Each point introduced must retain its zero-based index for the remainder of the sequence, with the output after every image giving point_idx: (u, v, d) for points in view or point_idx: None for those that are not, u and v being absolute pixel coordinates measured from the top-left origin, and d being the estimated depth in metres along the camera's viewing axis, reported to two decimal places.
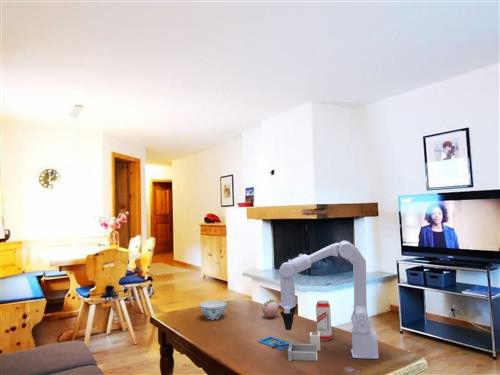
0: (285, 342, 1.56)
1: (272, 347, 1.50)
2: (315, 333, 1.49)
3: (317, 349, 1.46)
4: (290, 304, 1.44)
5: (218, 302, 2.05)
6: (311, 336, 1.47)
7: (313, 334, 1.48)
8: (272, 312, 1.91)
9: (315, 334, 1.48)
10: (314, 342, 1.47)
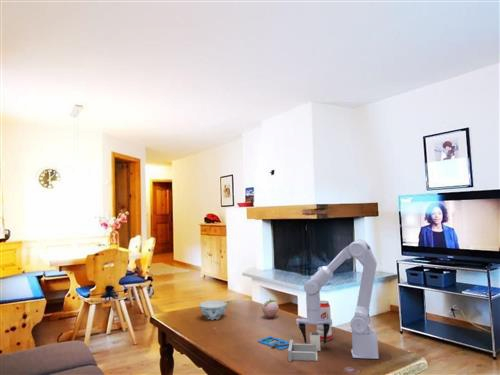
0: (285, 342, 1.56)
1: (272, 347, 1.50)
2: (315, 333, 1.49)
3: (317, 349, 1.46)
4: (307, 319, 1.49)
5: (218, 302, 2.05)
6: (311, 336, 1.47)
7: (313, 334, 1.48)
8: (272, 312, 1.91)
9: (315, 334, 1.48)
10: (314, 342, 1.47)
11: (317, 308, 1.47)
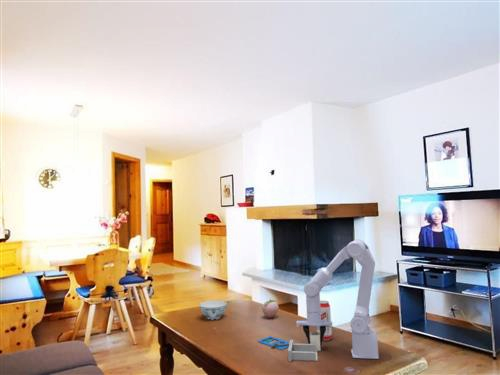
0: (285, 342, 1.56)
1: (272, 347, 1.50)
2: (315, 333, 1.49)
3: (317, 349, 1.46)
4: (307, 321, 1.49)
5: (218, 302, 2.05)
6: (311, 336, 1.47)
7: (313, 334, 1.48)
8: (272, 312, 1.91)
9: (315, 334, 1.48)
10: (314, 342, 1.47)
11: (317, 310, 1.47)
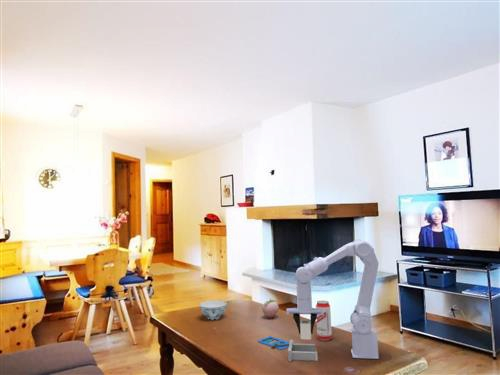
0: (285, 342, 1.56)
1: (272, 347, 1.50)
2: (306, 321, 1.43)
3: (307, 338, 1.41)
4: (297, 309, 1.43)
5: (218, 302, 2.05)
6: (301, 324, 1.41)
7: (303, 322, 1.42)
8: (272, 312, 1.91)
9: (306, 322, 1.42)
10: (304, 330, 1.41)
11: (310, 297, 1.42)
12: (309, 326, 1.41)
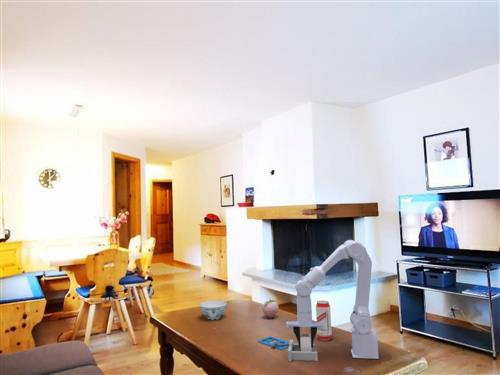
0: (285, 342, 1.56)
1: (272, 347, 1.50)
2: (306, 335, 1.42)
3: (308, 351, 1.40)
4: (297, 322, 1.42)
5: (218, 302, 2.05)
6: (301, 338, 1.41)
7: (304, 336, 1.41)
8: (272, 312, 1.91)
9: (306, 336, 1.41)
10: (305, 344, 1.40)
11: (310, 310, 1.41)
12: (309, 340, 1.40)
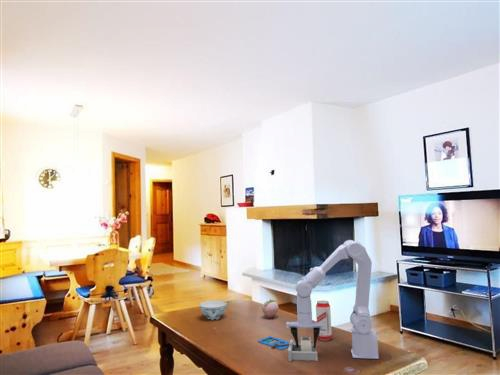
0: (285, 342, 1.56)
1: (272, 347, 1.50)
2: (306, 338, 1.42)
3: None
4: (298, 323, 1.42)
5: (218, 302, 2.05)
6: (302, 341, 1.41)
7: (304, 339, 1.41)
8: (272, 312, 1.91)
9: (306, 339, 1.41)
10: (305, 347, 1.40)
11: (310, 310, 1.41)
12: (310, 343, 1.40)
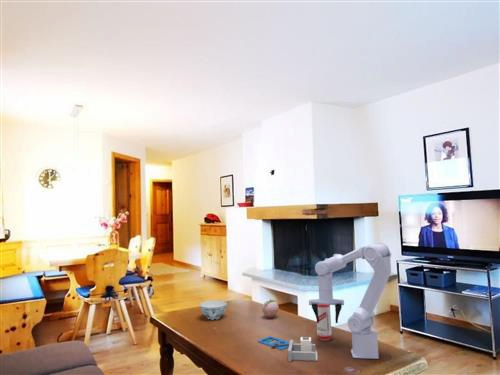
0: (285, 342, 1.56)
1: (272, 347, 1.50)
2: (306, 338, 1.42)
3: None
4: (319, 300, 1.52)
5: (218, 302, 2.05)
6: (302, 341, 1.41)
7: (304, 339, 1.41)
8: (272, 312, 1.91)
9: (306, 339, 1.41)
10: (305, 347, 1.40)
11: (327, 289, 1.50)
12: (310, 343, 1.40)
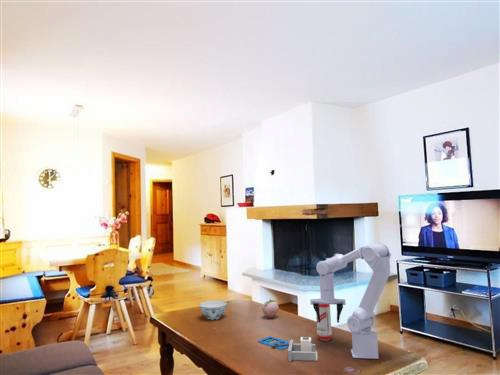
0: (285, 342, 1.56)
1: (272, 347, 1.50)
2: (306, 338, 1.42)
3: None
4: (321, 299, 1.53)
5: (218, 302, 2.05)
6: (302, 341, 1.41)
7: (304, 339, 1.41)
8: (272, 312, 1.91)
9: (306, 339, 1.41)
10: (305, 347, 1.40)
11: (328, 288, 1.51)
12: (310, 343, 1.40)
